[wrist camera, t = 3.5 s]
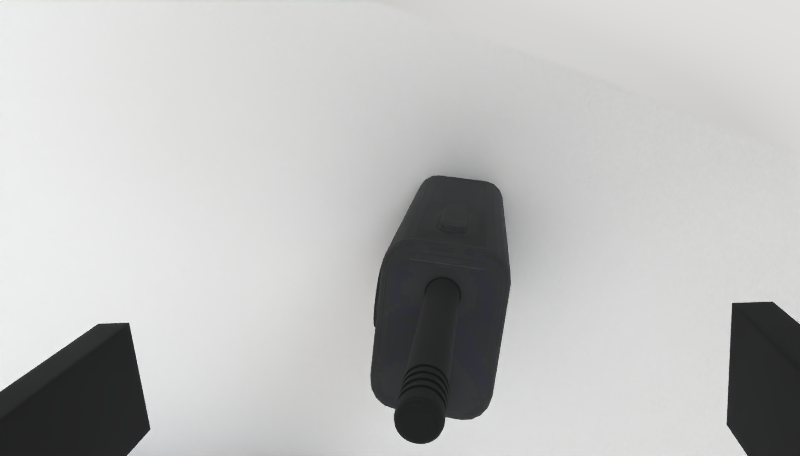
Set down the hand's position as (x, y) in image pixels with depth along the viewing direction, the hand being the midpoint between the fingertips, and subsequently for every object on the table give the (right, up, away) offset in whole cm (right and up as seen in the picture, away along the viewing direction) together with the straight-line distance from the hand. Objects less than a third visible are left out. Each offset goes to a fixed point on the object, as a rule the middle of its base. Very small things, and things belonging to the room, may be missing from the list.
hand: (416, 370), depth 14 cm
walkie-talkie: (+2, +3, +11) cm, 11 cm away
